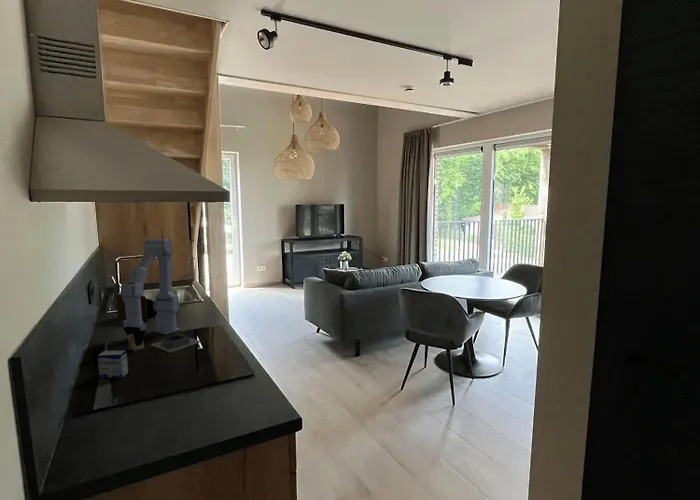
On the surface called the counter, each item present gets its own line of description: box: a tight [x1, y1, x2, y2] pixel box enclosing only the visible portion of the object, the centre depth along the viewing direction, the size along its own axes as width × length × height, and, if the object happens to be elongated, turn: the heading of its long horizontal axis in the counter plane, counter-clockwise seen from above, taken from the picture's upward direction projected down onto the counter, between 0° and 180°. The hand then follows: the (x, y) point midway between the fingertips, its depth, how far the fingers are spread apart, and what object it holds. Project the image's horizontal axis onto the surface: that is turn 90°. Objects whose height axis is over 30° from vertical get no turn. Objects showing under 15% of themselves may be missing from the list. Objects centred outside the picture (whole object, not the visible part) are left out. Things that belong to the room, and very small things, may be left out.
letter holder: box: [116, 293, 157, 323], centre depth 209 cm, size 10×20×14 cm, turn 71°
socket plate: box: [150, 333, 201, 353], centre depth 169 cm, size 14×14×3 cm
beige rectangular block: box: [127, 334, 145, 352], centre depth 165 cm, size 4×4×6 cm
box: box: [97, 349, 129, 380], centre depth 138 cm, size 8×4×9 cm, turn 95°
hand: (136, 344), depth 165 cm, fingers closed on beige rectangular block, 4 cm apart
